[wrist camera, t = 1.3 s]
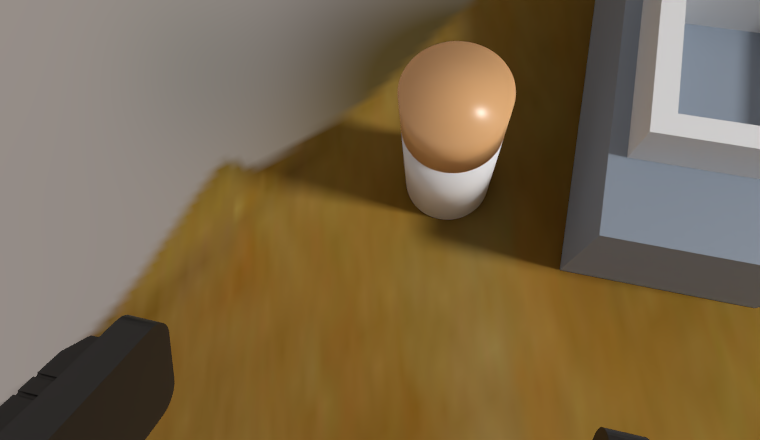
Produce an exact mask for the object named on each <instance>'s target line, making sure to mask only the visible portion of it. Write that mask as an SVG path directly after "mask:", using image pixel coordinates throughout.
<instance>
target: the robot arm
mask: <svg viewBox="0 0 760 440" xmlns="http://www.w3.org/2000/svg"><path fill="white" fill-rule="evenodd" d="M173 390H174V373H173V364H172V355H171V346H170V337H169V330H168V327H167V326H166V324H164V323H160V322H156V321H152V320H147V319H143V318H139V317H135V316H130V315H125V316H122V317H120V318H119V319H118V320H117V321H115V322H114V323H113V324H112V325H111V326H110V327H109V328H108V329H107V330H106V331H105V332H104V333H103V334H102V335H101V336H100V337H95V336H89V337H87V338H85V339H83V340H81V341H79V342H77V343H76V344H74V345H72V346H70V347H68V348H66V349H64V350H62V351H61V352H60V353H58V354H57V355H56V356H55V357H54V358H53V359H52V360H51V361H50V362H49V363H47V364H46V365H45V366H44V367H43V368H42V369H41V370H40V371H39V372H38V374H37V376H36V377H32V378H31V379H30V380H29V381H28V382H27V383H25V384H24V385H23V386H22V387H21V388H20V389H19V390H18V393H17V395H12V396H11V397H10V398H9V399H8V400H7V401H6V402H5V403H3V404H2V405H1V406H0V440H145V439H146V438H147V436H148V435H149V434H150V432H151V431H152V429H153V428H154V427H155V425H156V424H157V423H158V421H159V420H160V419H161V417H162V416H163V414H164V413H165V411H166V409H167V407H168V405H169V403H170V401H171V398H172V394H173ZM593 440H649V439H648V438H646V437H642V436H637V435H633V434H629V433H625V432H620V431H616V430H612V429H607V428H603V427H600V428H599V429H598V430H597V431H596V433H595V435H594V438H593Z"/></svg>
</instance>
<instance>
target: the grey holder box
mask: <svg viewBox="0 0 760 440" xmlns="http://www.w3.org/2000/svg"><path fill="white" fill-rule="evenodd" d="M560 270H563V271H568V272H573V273H578V274H583V275H588V276H593V277H599V278H604V279H609V280H614V281H619V282H624V283H629V284H634V285H640V286H645V287H650V288H655V289H660V290H665V291H670V292H675V293H680V294H686V295H691V296H696V297H701V298H706V299H711V300H716V301H721V302H727V303H732V304H737V305H742V306H747V307H752V308H758V307H760V0H595V6H594V14H593V21H592V29H591V37H590V44H589V52H588V60H587V67H586V75H585V82H584V90H583V98H582V105H581V113H580V120H579V128H578V136H577V143H576V151H575V158H574V166H573V174H572V181H571V189H570V196H569V204H568V212H567V219H566V227H565V234H564V242H563V250H562V257H561V265H560Z"/></svg>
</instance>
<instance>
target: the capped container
mask: <svg viewBox="0 0 760 440" xmlns="http://www.w3.org/2000/svg"><path fill="white" fill-rule="evenodd" d="M515 98H516V86H515V81H514V78H513V75H512V73H511V71H510V69H509V67H508V66H507V65H506V63H505V62H504V61H503V60H502V59H501V58H500V57H499V56H498V55H497V54H496V53H494V52H493V51H491V50H489V49H488V48H486V47H484V46H481V45H478V44H475V43H471V42H465V41H449V42H443V43H439V44H436V45H433V46H431V47H429V48H427V49H425V50H423V51H422V52H420V53H419V54H417V55H416V56H415V57H414V58H413V59H412V60H411V61H410V62H409V63H408V65H407V66H406V68H405V69H404V71H403V73H402V75H401V78H400V81H399V85H398V103H399V113H400V124H401V135H402V145H403V156H404V167H405V177H406V187H407V191H408V194H409V197H410V199H411V200H412V202H413V203H414V205H415V206H416V207H417V208H418V209H419V210H420V211H422V212H423V213H425V214H427V215H428V216H431V217H433V218H437V219H443V220H452V219H458V218H461V217H464V216H466V215H468V214H470V213H471V212H473V211H474V210H475V209H476V208H477V207H479V205H480V204H481V203H482V201H483V200H484V198H485V195H486V193H487V190H488V187H489V183H490V180H491V177H492V174H493V171H494V168H495V164H496V161H497V158H498V155H499V152H500V149H501V145H502V142H503V139H504V136H505V133H506V129H507V126H508V123H509V120H510V117H511V114H512V110H513V107H514V103H515Z"/></svg>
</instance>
